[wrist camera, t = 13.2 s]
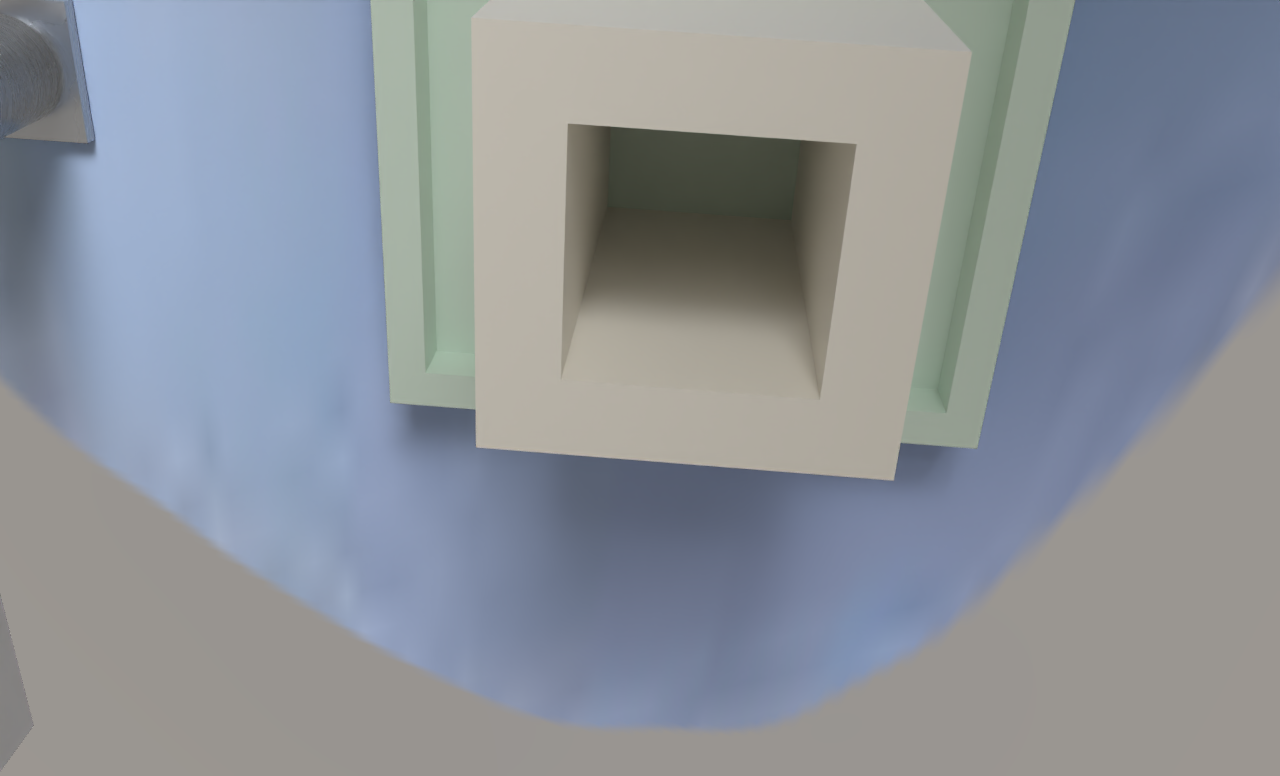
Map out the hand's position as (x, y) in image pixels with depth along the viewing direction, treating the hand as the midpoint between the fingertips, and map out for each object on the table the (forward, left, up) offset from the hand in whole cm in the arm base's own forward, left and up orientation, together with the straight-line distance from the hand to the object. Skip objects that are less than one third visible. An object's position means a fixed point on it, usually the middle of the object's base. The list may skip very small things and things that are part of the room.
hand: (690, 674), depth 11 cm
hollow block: (0, 0, -21) cm, 21 cm away
